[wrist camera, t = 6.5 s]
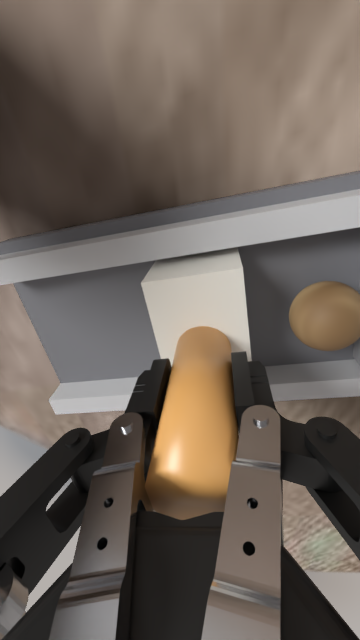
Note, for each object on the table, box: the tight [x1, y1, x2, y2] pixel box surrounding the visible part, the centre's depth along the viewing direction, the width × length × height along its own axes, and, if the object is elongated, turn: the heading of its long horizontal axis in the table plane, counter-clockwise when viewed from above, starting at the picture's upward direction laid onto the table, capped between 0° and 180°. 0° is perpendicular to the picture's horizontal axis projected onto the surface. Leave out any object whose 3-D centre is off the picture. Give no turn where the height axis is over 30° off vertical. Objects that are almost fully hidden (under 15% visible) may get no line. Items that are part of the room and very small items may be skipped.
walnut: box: [289, 281, 360, 351], centre depth 16 cm, size 4×4×4 cm
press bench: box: [0, 171, 360, 414], centre depth 17 cm, size 26×14×8 cm, turn 101°
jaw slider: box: [141, 248, 252, 520], centre depth 14 cm, size 5×9×12 cm, turn 11°
